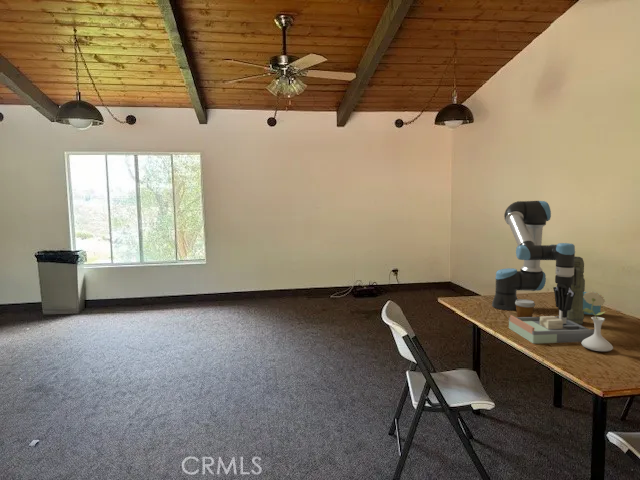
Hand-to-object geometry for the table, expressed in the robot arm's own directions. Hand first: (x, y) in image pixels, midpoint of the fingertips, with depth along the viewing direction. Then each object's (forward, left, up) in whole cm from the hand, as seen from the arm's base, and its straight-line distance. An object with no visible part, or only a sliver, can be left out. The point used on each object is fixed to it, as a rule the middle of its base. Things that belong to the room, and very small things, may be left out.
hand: (562, 323), depth 192 cm
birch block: (0, -6, -1) cm, 6 cm away
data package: (-32, +35, -6) cm, 48 cm away
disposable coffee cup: (-18, -9, -6) cm, 21 cm away
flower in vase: (+19, +2, -6) cm, 20 cm away
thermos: (-17, +17, -6) cm, 25 cm away
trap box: (0, -5, -5) cm, 7 cm away
